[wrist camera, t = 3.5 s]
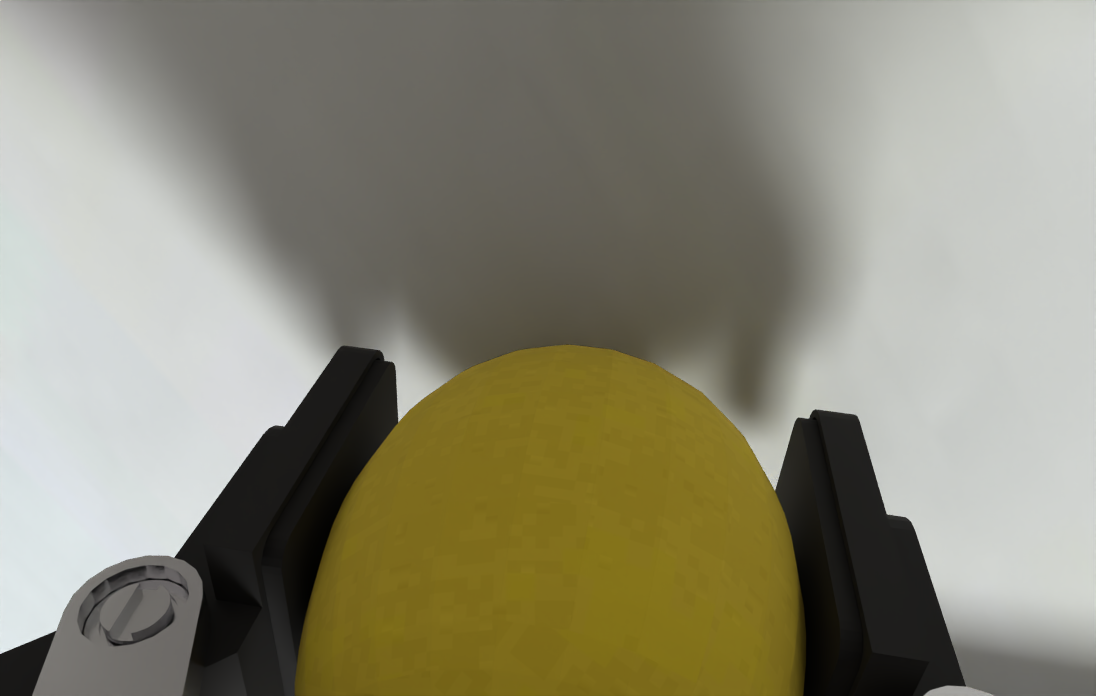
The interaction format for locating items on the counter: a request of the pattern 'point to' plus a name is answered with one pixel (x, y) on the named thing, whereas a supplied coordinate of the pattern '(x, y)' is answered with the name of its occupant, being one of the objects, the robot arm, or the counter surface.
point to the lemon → (558, 545)
